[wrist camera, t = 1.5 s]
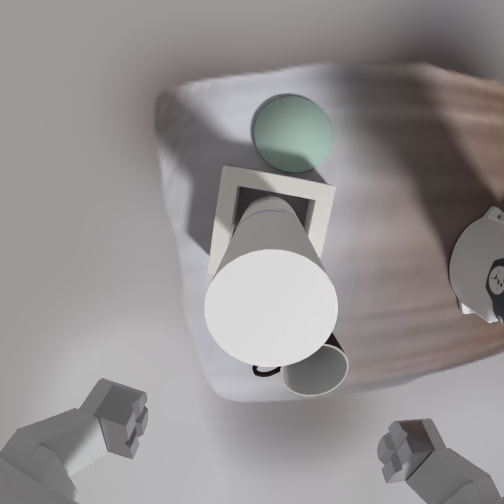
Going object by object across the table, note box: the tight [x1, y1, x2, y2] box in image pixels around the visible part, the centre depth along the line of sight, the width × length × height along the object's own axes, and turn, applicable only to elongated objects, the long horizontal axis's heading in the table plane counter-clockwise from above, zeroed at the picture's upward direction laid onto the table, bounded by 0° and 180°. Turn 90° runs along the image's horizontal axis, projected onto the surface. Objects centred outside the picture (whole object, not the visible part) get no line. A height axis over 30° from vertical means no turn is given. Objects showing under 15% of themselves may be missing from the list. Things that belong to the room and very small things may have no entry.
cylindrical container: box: [204, 196, 338, 367], centre depth 28 cm, size 7×7×25 cm
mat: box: [254, 96, 333, 172], centre depth 36 cm, size 10×10×1 cm
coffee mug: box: [252, 333, 349, 396], centre depth 39 cm, size 12×9×10 cm
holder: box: [208, 166, 336, 275], centre depth 37 cm, size 13×13×5 cm
